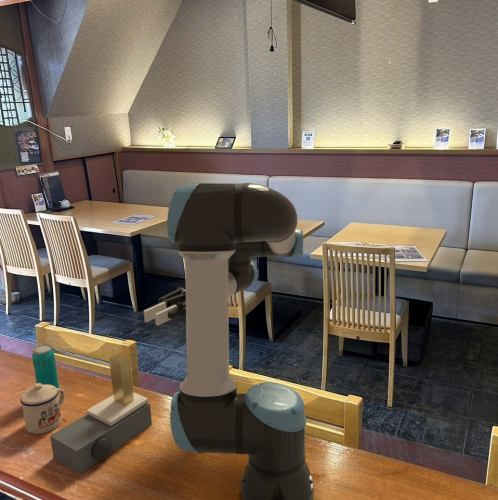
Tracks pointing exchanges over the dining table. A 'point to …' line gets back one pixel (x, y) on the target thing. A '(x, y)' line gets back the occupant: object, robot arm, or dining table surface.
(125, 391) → the sliding cover
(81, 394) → the dining table surface
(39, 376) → the beverage can
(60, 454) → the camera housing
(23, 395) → the teacup with lid
